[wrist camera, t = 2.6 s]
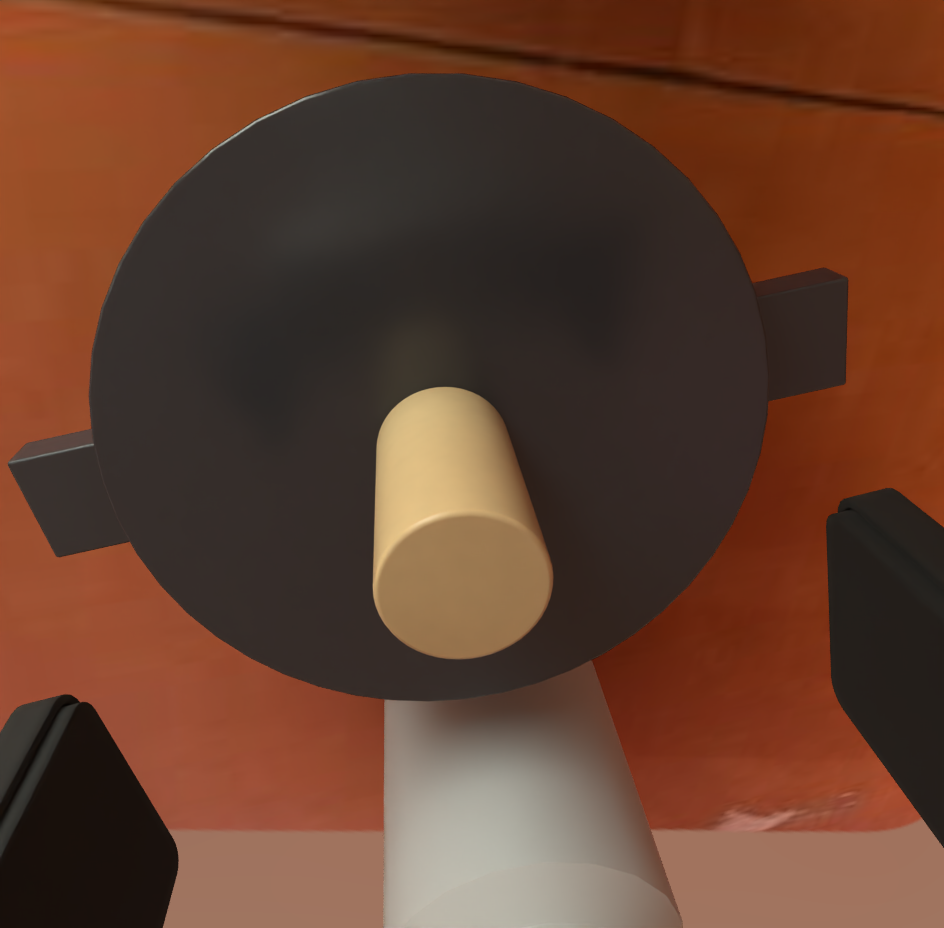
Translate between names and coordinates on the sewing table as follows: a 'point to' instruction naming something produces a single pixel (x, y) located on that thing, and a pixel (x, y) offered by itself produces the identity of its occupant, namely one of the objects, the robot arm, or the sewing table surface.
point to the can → (517, 814)
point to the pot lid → (429, 387)
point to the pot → (790, 373)
